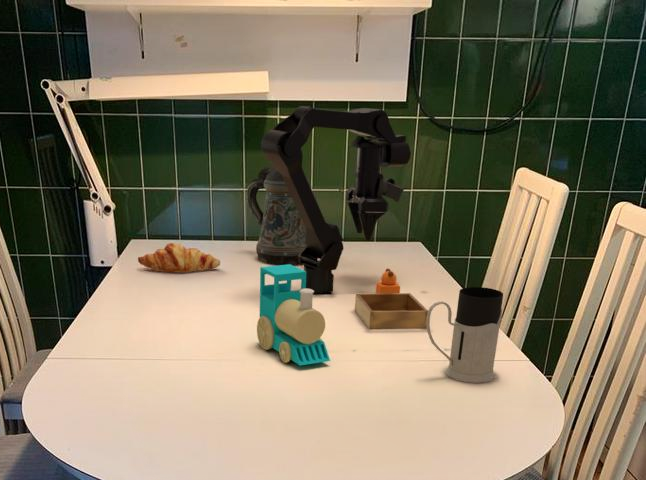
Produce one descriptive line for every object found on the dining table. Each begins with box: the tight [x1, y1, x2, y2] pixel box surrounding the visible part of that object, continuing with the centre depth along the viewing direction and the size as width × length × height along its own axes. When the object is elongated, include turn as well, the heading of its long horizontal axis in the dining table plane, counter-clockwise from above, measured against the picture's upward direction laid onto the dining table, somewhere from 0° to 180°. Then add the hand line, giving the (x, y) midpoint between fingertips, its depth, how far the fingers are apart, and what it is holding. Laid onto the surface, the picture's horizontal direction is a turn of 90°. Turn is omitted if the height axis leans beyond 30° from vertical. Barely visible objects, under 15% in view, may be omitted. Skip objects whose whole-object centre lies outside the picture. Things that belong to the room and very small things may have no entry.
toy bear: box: [375, 268, 401, 294], centre depth 189 cm, size 5×4×8 cm
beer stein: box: [246, 166, 311, 267], centre depth 221 cm, size 16×19×25 cm
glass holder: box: [426, 286, 504, 384], centre depth 145 cm, size 9×14×15 cm, turn 107°
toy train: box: [256, 264, 331, 366], centre depth 153 cm, size 8×17×15 cm, turn 28°
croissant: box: [137, 242, 221, 273], centre depth 212 cm, size 21×10×8 cm
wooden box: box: [354, 292, 429, 330], centre depth 176 cm, size 12×14×4 cm
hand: (363, 236), depth 198 cm, fingers open, 9 cm apart
